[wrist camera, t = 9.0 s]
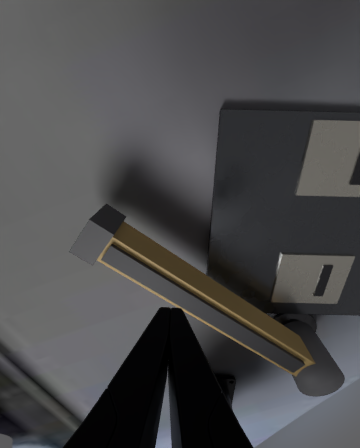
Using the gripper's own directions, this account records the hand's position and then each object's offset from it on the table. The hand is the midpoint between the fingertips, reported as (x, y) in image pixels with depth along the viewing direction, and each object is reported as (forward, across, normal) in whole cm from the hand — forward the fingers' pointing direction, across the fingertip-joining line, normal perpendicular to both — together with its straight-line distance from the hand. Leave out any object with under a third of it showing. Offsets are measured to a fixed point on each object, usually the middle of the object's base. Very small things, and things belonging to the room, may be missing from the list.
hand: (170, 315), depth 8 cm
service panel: (+10, -12, +3) cm, 16 cm away
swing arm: (+9, -4, +6) cm, 11 cm away
